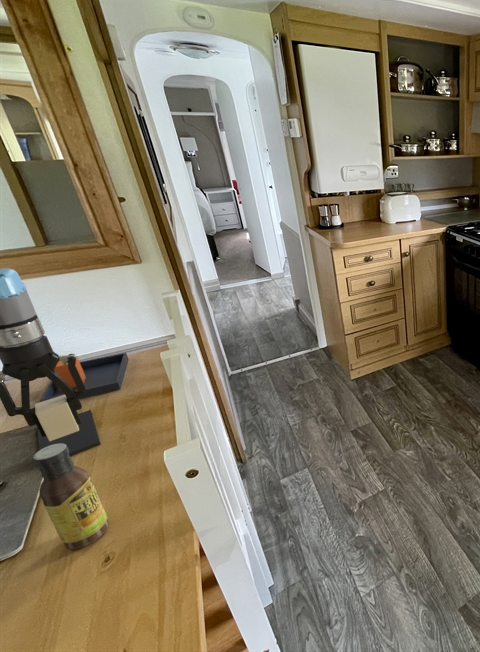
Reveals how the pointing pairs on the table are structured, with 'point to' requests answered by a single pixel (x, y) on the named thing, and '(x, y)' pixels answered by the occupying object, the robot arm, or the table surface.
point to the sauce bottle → (70, 498)
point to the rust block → (66, 375)
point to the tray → (96, 377)
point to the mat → (76, 436)
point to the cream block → (56, 417)
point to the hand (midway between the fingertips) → (61, 427)
